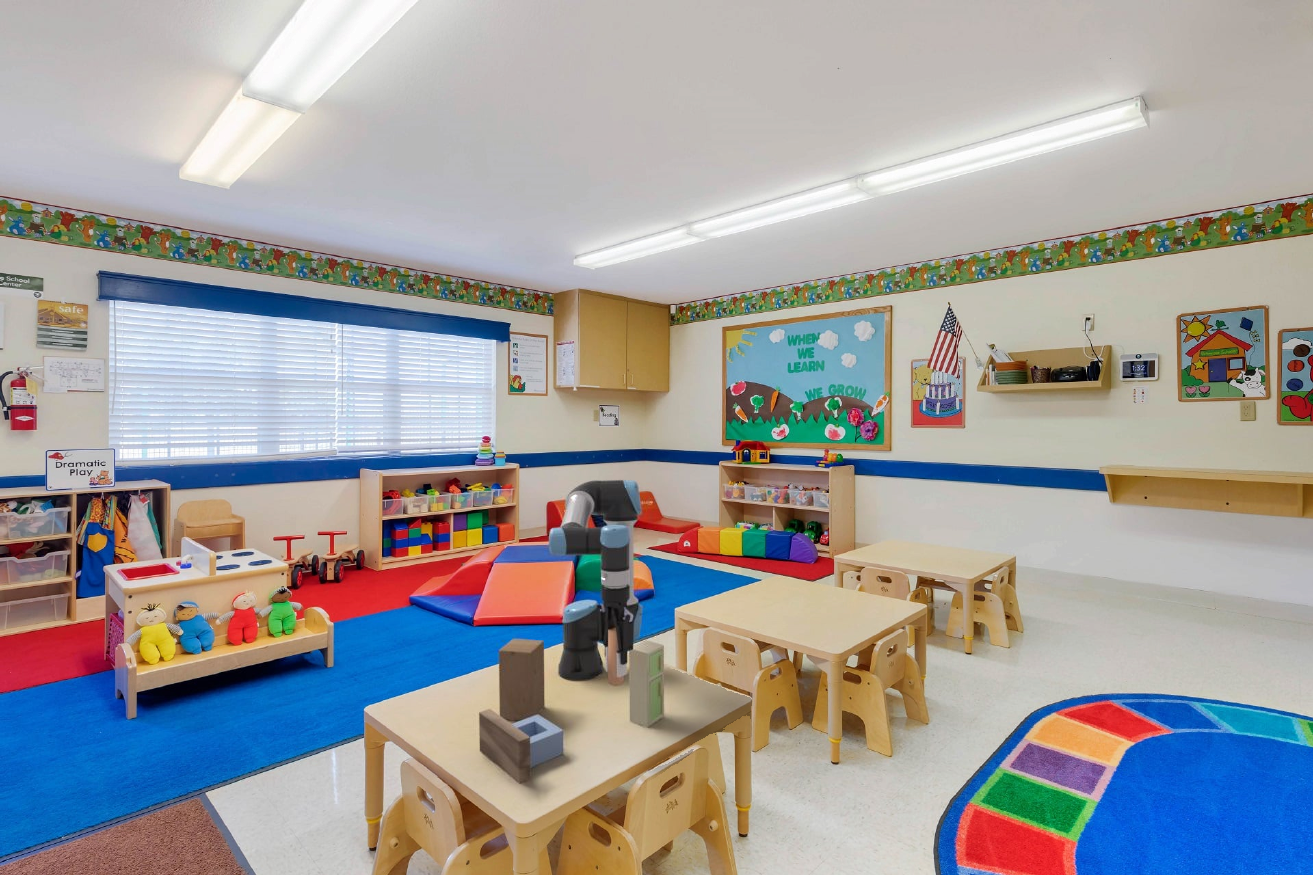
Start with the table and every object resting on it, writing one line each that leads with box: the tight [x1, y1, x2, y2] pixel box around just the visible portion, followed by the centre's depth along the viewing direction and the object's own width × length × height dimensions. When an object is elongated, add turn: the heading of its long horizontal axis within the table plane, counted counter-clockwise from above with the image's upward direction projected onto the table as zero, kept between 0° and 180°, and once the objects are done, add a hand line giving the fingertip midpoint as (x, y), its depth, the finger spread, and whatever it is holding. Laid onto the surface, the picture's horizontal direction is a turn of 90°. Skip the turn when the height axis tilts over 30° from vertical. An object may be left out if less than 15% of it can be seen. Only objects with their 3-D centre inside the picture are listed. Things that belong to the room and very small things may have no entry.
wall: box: [478, 708, 532, 784], centre depth 156 cm, size 3×20×10 cm, turn 42°
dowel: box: [607, 628, 625, 687], centre depth 166 cm, size 4×4×14 cm
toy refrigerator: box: [628, 640, 665, 728], centre depth 179 cm, size 8×7×21 cm
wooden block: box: [498, 638, 546, 722], centre depth 183 cm, size 10×10×20 cm
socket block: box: [511, 714, 564, 769], centre depth 161 cm, size 12×12×6 cm
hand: (616, 672), depth 166 cm, fingers closed on dowel, 4 cm apart
